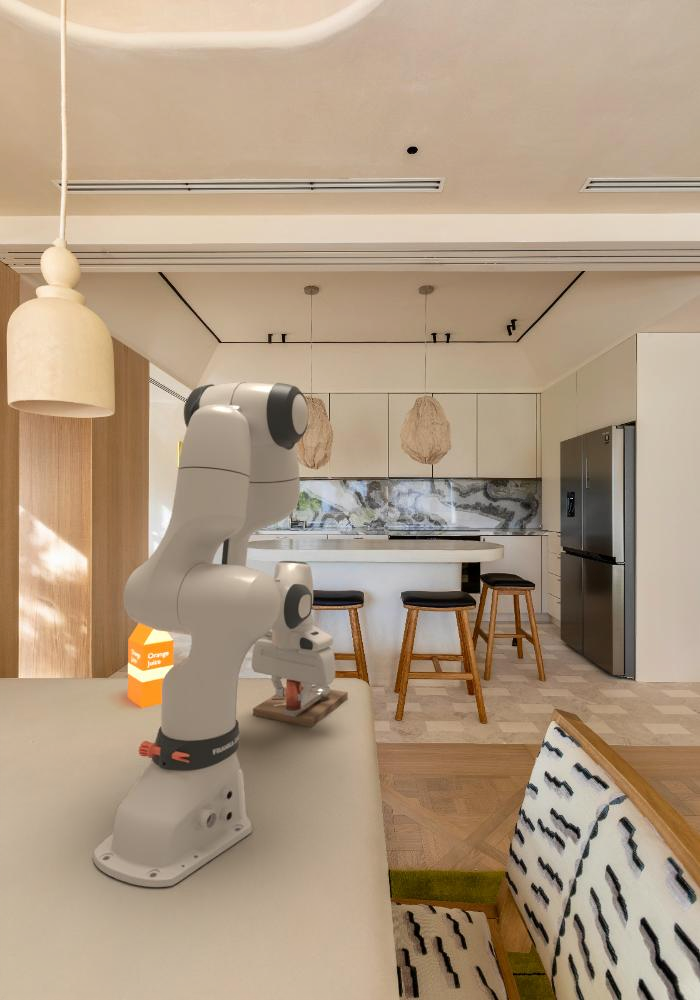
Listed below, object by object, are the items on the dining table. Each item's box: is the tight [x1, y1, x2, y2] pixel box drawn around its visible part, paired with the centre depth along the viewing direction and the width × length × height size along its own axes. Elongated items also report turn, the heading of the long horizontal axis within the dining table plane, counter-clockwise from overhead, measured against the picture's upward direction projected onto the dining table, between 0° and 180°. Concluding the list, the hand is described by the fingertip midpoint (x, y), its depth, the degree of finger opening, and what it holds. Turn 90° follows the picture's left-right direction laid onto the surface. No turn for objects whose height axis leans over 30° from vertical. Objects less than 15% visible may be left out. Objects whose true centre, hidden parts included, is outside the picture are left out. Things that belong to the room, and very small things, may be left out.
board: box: [252, 688, 349, 728], centre depth 132 cm, size 19×15×6 cm
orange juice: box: [127, 623, 175, 709], centre depth 135 cm, size 8×9×20 cm
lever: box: [285, 679, 331, 717], centre depth 127 cm, size 17×5×8 cm, turn 156°
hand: (291, 698), depth 121 cm, fingers open, 4 cm apart
